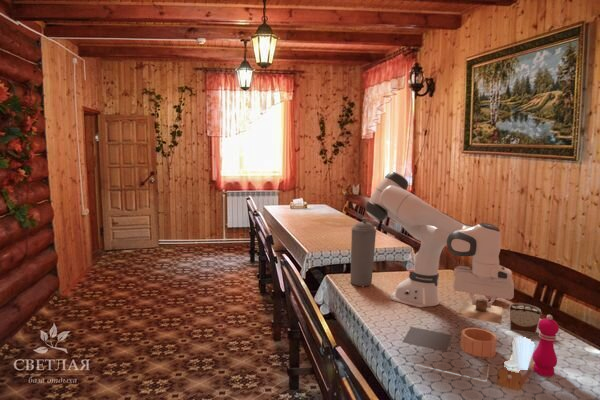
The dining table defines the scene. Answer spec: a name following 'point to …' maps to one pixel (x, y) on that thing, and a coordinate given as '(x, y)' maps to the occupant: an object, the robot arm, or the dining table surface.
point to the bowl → (478, 342)
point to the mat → (428, 339)
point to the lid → (481, 311)
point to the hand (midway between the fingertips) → (481, 306)
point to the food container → (524, 317)
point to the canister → (362, 253)
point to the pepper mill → (546, 347)
